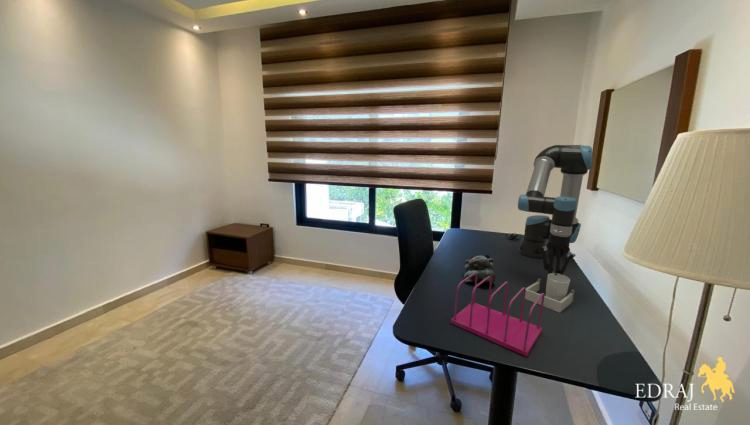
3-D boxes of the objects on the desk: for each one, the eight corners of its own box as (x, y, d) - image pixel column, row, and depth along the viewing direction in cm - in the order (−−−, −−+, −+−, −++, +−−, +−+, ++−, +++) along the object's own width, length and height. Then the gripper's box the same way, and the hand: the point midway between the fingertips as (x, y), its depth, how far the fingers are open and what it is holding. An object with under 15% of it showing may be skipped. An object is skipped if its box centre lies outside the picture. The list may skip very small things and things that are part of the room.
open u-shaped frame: (537, 289, 132) (538, 278, 131) (572, 302, 122) (574, 290, 120) (522, 298, 124) (524, 286, 123) (559, 312, 113) (562, 300, 112)
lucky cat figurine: (458, 281, 137) (458, 252, 141) (469, 284, 145) (469, 256, 149) (490, 282, 127) (489, 250, 131) (500, 285, 135) (500, 255, 139)
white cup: (570, 302, 121) (574, 280, 118) (556, 306, 118) (560, 284, 115) (553, 292, 128) (557, 271, 125) (539, 295, 125) (543, 275, 122)
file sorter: (526, 358, 88) (533, 310, 85) (450, 323, 105) (454, 282, 101) (541, 332, 101) (548, 290, 97) (471, 305, 117) (475, 268, 114)
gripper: (539, 232, 124) (532, 284, 130) (574, 240, 115) (565, 295, 120) (546, 229, 129) (539, 279, 134) (581, 236, 119) (571, 290, 125)
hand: (551, 287), depth 127 cm, fingers closed
